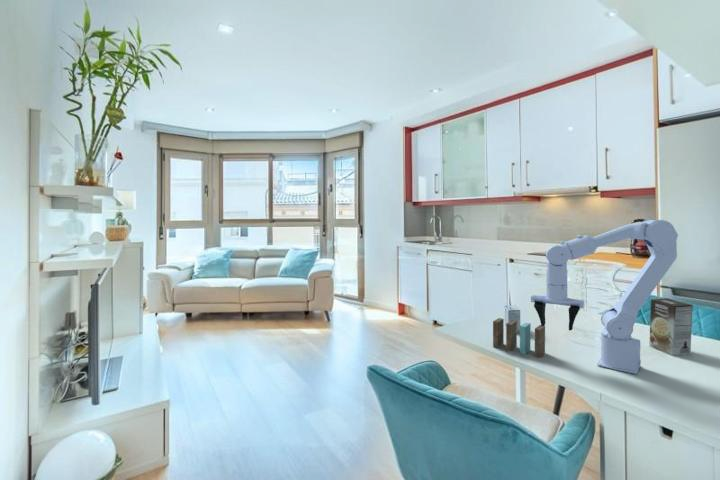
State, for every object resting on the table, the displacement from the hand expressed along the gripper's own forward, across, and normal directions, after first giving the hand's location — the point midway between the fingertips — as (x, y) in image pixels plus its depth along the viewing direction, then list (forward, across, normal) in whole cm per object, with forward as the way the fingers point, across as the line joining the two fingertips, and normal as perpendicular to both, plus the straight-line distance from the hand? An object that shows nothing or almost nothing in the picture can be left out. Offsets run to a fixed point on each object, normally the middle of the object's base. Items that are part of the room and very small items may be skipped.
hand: (556, 327), depth 115 cm
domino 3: (+10, +5, 0) cm, 11 cm away
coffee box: (+10, -27, -27) cm, 40 cm away
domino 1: (+10, +14, -1) cm, 17 cm away
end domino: (+10, +18, -1) cm, 21 cm away
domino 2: (+10, +9, -1) cm, 14 cm away
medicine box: (+10, +20, -22) cm, 32 cm away
